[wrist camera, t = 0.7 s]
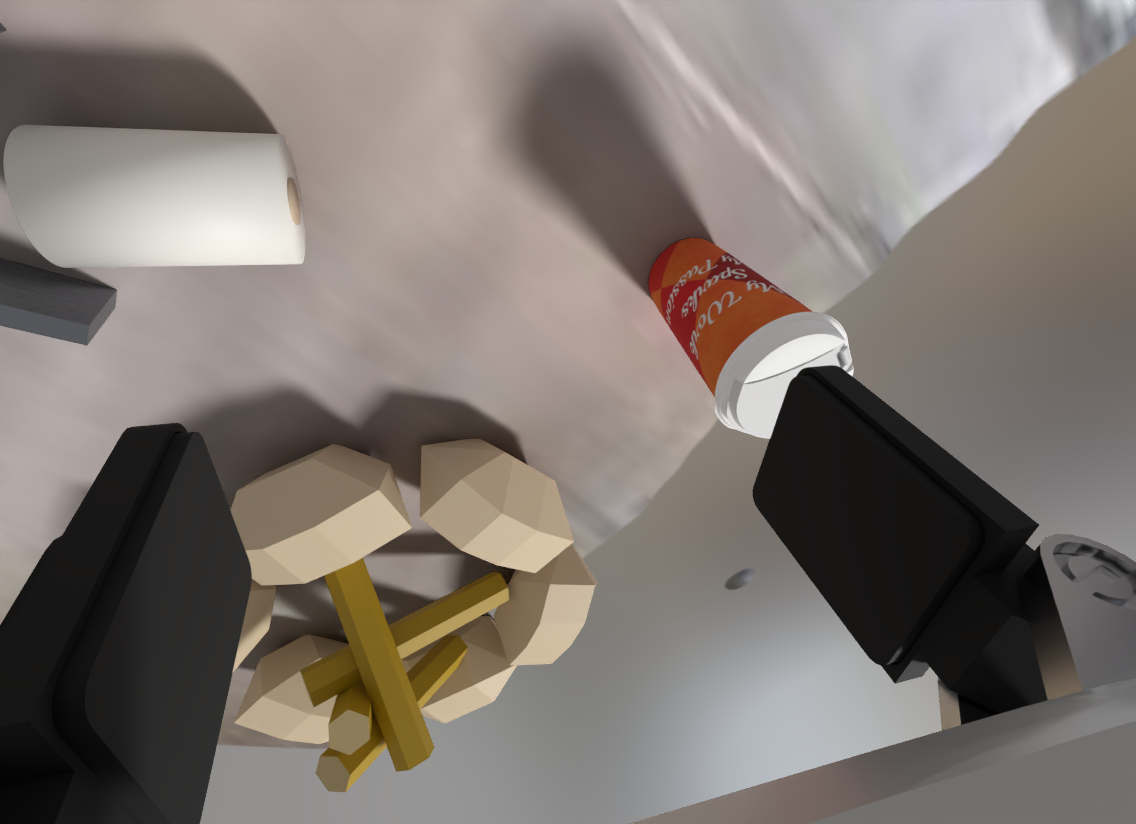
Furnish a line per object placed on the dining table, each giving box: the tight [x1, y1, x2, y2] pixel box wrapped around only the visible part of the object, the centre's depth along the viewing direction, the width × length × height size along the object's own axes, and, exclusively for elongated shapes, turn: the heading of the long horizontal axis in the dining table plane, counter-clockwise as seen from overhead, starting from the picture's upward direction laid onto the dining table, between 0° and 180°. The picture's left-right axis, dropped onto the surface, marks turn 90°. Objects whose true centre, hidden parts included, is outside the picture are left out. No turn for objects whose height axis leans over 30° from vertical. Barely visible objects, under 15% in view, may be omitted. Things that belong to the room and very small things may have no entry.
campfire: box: [231, 439, 598, 792], centre depth 45 cm, size 35×34×17 cm
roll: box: [4, 125, 305, 268], centre depth 27 cm, size 10×6×6 cm, turn 84°
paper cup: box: [648, 238, 854, 439], centre depth 35 cm, size 8×8×14 cm
